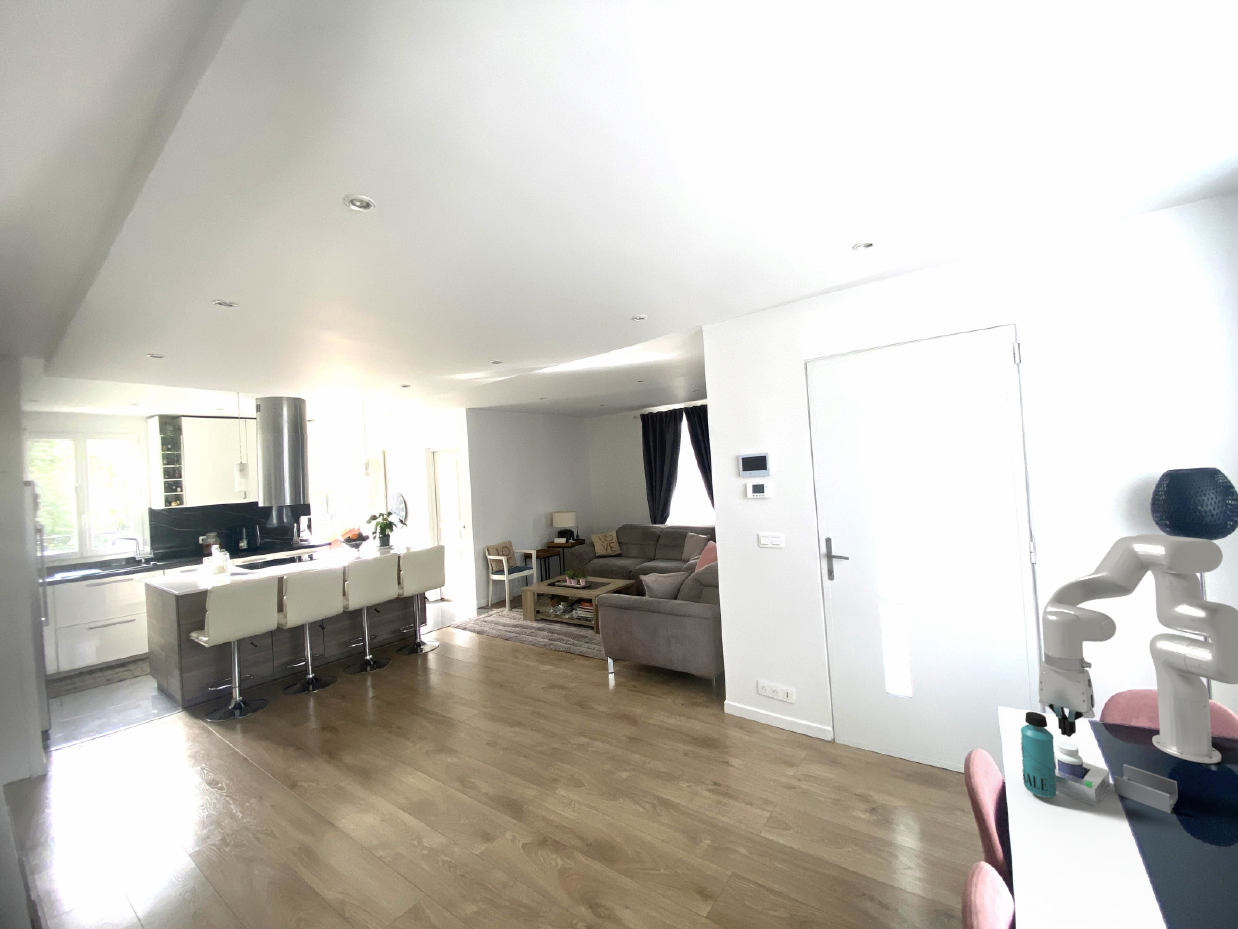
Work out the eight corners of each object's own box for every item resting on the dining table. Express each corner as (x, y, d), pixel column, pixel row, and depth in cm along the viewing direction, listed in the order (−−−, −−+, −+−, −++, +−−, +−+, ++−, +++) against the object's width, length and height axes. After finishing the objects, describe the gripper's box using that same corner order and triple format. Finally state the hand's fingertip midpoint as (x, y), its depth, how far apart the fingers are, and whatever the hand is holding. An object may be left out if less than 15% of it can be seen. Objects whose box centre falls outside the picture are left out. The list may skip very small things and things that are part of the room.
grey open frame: (1124, 779, 128) (1123, 764, 128) (1177, 798, 120) (1176, 781, 120) (1115, 793, 123) (1114, 777, 123) (1170, 813, 115) (1168, 796, 115)
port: (1049, 764, 135) (1048, 747, 135) (1110, 786, 125) (1108, 768, 125) (1032, 782, 129) (1031, 764, 129) (1095, 806, 119) (1094, 787, 119)
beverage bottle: (1052, 790, 125) (1047, 710, 125) (1062, 807, 119) (1057, 723, 119) (1019, 785, 128) (1015, 706, 128) (1028, 801, 122) (1023, 718, 122)
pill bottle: (1090, 791, 124) (1087, 752, 124) (1065, 790, 125) (1062, 751, 125) (1075, 778, 129) (1072, 740, 129) (1051, 777, 130) (1048, 739, 130)
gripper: (1108, 666, 123) (1112, 741, 123) (1032, 650, 136) (1036, 718, 135) (1099, 674, 119) (1103, 752, 119) (1021, 656, 131) (1025, 727, 131)
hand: (1067, 734), depth 127 cm, fingers closed
